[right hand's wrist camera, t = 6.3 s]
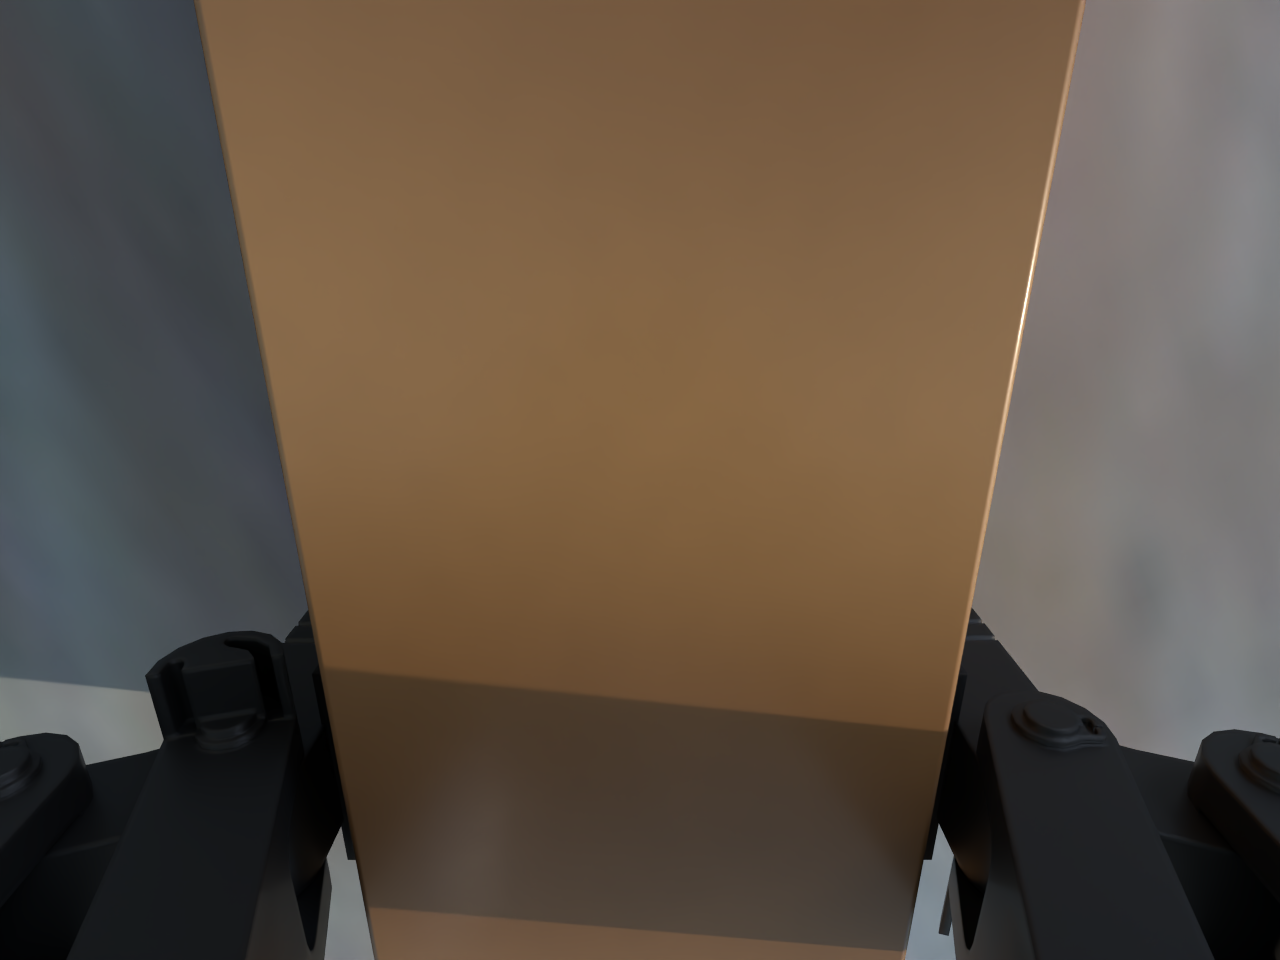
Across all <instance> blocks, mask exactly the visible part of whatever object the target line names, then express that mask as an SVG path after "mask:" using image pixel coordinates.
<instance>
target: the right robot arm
mask: <svg viewBox="0 0 1280 960" xmlns="http://www.w3.org/2000/svg"><path fill="white" fill-rule="evenodd" d="M994 637H995V636H994V635H993V634H992V632H991V631H990V630H989V629H988V627H987V626H986V625H985V624H984V623H981V619H980V617H979V616H978V615H977V614H976V612H975V611H974V610H973V609H972V607H971V611H970V617H969V622H968V627H967V633H966V638H965V643H964V648H963V654H962V659H961V664H960V670H959V675H958V680H957V685H956V691H955V696H954V701H953V707H952V712H951V717H950V723H949V728H948V733H947V738H946V744H945V749H944V754H943V760H942V765H941V770H940V775H939V781H938V786H937V791H936V797H935V802H934V807H933V813H932V818H931V823H930V828H929V834H928V839H927V844H926V850H925V855H924V860H932V855H933V850H934V845H935V840H936V835H937V830H938V824H939V825H940V827H941V829H942V831H943V833H944V835H945V837H946V839H947V841H948V844H949V846H950V848H951V850H952V852H953V854H954V858H953V862H952V867H951V872H950V877H949V882H948V886H947V891H946V896H945V901H944V906H943V911H942V915H941V921H940V927H939V934H943V935H947V936H949V931H950V927H951V922H952V926H953V935H954V945H955V954H956V960H1280V738H1279V739H1278V738H1276V737H1275V736H1271V735H1267V734H1263V733H1256V732H1249V731H1242V730H1235V729H1233V730H1225V731H1216V732H1213V733H1211V734H1210V735H1209V736H1207V737H1206V738H1205V739H1203V740H1202V742H1201V745H1200V748H1199V751H1198V754H1197V757H1196V759H1195V762H1192V761H1187V760H1182V759H1178V758H1173V757H1168V756H1163V755H1159V754H1154V753H1149V752H1144V751H1139V750H1135V749H1131V748H1127V747H1124V746H1120V745H1119V744H1118V741H1117V739H1116V738H1115V736H1114V735H1113V734H1112V732H1111V731H1110V730H1109V728H1108V727H1107V725H1106V724H1105V723H1104V722H1103V721H1101V720H1100V719H1099V718H1097V717H1096V716H1095V715H1093V714H1092V713H1091V712H1089V711H1088V710H1087V709H1085V708H1083V707H1081V706H1079V705H1077V704H1075V703H1073V702H1070V701H1068V700H1066V699H1064V698H1062V697H1058V696H1055V695H1051V694H1047V693H1043V692H1039V691H1038V690H1037V689H1036V687H1035V686H1034V685H1033V684H1032V682H1031V681H1030V680H1029V679H1028V677H1027V676H1026V675H1025V674H1024V672H1023V671H1022V670H1021V669H1020V667H1019V666H1018V665H1017V664H1016V662H1015V661H1014V660H1013V659H1012V657H1011V656H1010V655H1009V654H1008V652H1007V651H1006V650H1005V649H1004V647H1003V646H1002V645H1001V644H1000V642H999V641H998V640H995V638H994ZM145 677H146V680H147V684H148V687H149V690H150V694H151V697H152V701H153V704H154V708H155V711H156V714H157V718H158V721H159V725H160V728H161V731H162V735H163V738H164V740H163V743H162V745H161V747H160V749H157V750H153V751H150V752H146V753H141V754H137V755H132V756H127V757H122V758H118V759H113V760H108V761H103V762H99V763H94V764H89V765H86V764H85V761H84V758H83V756H82V753H81V750H80V747H79V744H78V743H77V742H75V741H74V740H73V739H71V738H70V737H69V736H67V735H61V734H53V733H41V734H34V735H27V736H20V737H16V738H12V739H8V740H5V741H4V742H0V960H324V956H325V947H326V937H327V928H328V919H329V910H330V900H331V891H332V885H331V879H330V872H329V867H328V862H327V858H326V857H327V855H328V853H329V851H330V848H331V846H332V844H333V842H334V840H335V838H336V836H337V834H338V831H339V829H340V827H342V832H343V837H344V842H345V848H346V853H347V858H348V860H356V858H355V853H354V848H353V842H352V837H351V832H350V827H349V821H348V816H347V811H346V805H345V800H344V795H343V789H342V784H341V779H340V774H339V768H338V763H337V758H336V752H335V747H334V742H333V736H332V731H331V726H330V721H329V715H328V710H327V705H326V699H325V694H324V689H323V683H322V678H321V673H320V668H319V662H318V657H317V652H316V646H315V641H314V636H313V630H312V625H311V620H310V615H309V610H308V611H307V612H306V613H305V615H304V616H303V617H302V619H301V620H300V621H299V625H298V626H295V627H294V629H293V630H292V631H291V632H290V634H289V635H288V636H287V637H286V641H285V643H281V642H280V641H279V640H277V639H276V638H275V637H273V636H272V635H271V634H266V633H261V632H256V631H238V632H227V633H222V634H218V635H214V636H209V637H205V638H202V639H199V640H197V641H194V642H192V643H190V644H187V645H185V646H182V647H180V648H178V649H176V650H175V651H173V652H171V653H170V654H168V655H167V656H165V657H164V658H162V659H161V660H159V661H158V662H157V663H156V664H155V665H154V666H153V667H152V669H151V670H150V671H149V672H148V673H147V674H146V675H145Z"/></svg>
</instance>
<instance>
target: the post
mask: <svg viewBox="0 0 1280 960" xmlns="http://www.w3.org/2000/svg"><path fill="white" fill-rule="evenodd" d="M1085 2H1086V0H194V5H195V10H196V16H197V21H198V26H199V31H200V37H201V42H202V47H203V53H204V58H205V63H206V69H207V74H208V79H209V84H210V90H211V95H212V100H213V106H214V111H215V116H216V122H217V127H218V132H219V137H220V143H221V148H222V153H223V159H224V164H225V169H226V175H227V180H228V185H229V190H230V196H231V201H232V206H233V212H234V217H235V222H236V228H237V233H238V238H239V243H240V249H241V254H242V259H243V265H244V270H245V275H246V281H247V286H248V291H249V296H250V302H251V307H252V312H253V318H254V323H255V328H256V334H257V339H258V344H259V349H260V355H261V360H262V365H263V371H264V376H265V381H266V387H267V392H268V397H269V402H270V408H271V413H272V418H273V424H274V429H275V434H276V440H277V445H278V450H279V455H280V461H281V466H282V471H283V477H284V482H285V487H286V493H287V498H288V503H289V508H290V514H291V519H292V524H293V530H294V535H295V540H296V546H297V551H298V556H299V562H300V567H301V572H302V577H303V583H304V588H305V593H306V599H307V604H308V609H309V615H310V620H311V625H312V630H313V636H314V641H315V646H316V652H317V657H318V662H319V668H320V673H321V678H322V683H323V689H324V694H325V699H326V705H327V710H328V715H329V721H330V726H331V731H332V736H333V742H334V747H335V752H336V758H337V763H338V768H339V774H340V779H341V784H342V789H343V795H344V800H345V805H346V811H347V816H348V821H349V827H350V832H351V837H352V842H353V848H354V853H355V858H356V864H357V869H358V874H359V880H360V885H361V890H362V895H363V901H364V906H365V911H366V917H367V922H368V927H369V933H370V938H371V943H372V948H373V954H374V959H375V960H905V955H906V950H907V945H908V940H909V934H910V929H911V924H912V918H913V913H914V908H915V903H916V897H917V892H918V887H919V881H920V876H921V871H922V865H923V860H924V855H925V850H926V844H927V839H928V834H929V828H930V823H931V818H932V813H933V807H934V802H935V797H936V791H937V786H938V781H939V775H940V770H941V765H942V760H943V754H944V749H945V744H946V738H947V733H948V728H949V723H950V717H951V712H952V707H953V701H954V696H955V691H956V685H957V680H958V675H959V670H960V664H961V659H962V654H963V648H964V643H965V638H966V633H967V627H968V622H969V617H970V611H971V606H972V601H973V595H974V590H975V585H976V580H977V574H978V569H979V564H980V558H981V553H982V548H983V542H984V537H985V532H986V527H987V521H988V516H989V511H990V505H991V500H992V495H993V490H994V484H995V479H996V474H997V468H998V463H999V458H1000V452H1001V447H1002V442H1003V437H1004V431H1005V426H1006V421H1007V415H1008V410H1009V405H1010V400H1011V394H1012V389H1013V384H1014V378H1015V373H1016V368H1017V362H1018V357H1019V352H1020V347H1021V341H1022V336H1023V331H1024V325H1025V320H1026V315H1027V310H1028V304H1029V299H1030V294H1031V288H1032V283H1033V278H1034V272H1035V267H1036V262H1037V257H1038V251H1039V246H1040V241H1041V235H1042V230H1043V225H1044V220H1045V214H1046V209H1047V204H1048V198H1049V193H1050V188H1051V182H1052V177H1053V172H1054V167H1055V161H1056V156H1057V151H1058V145H1059V140H1060V135H1061V130H1062V124H1063V119H1064V114H1065V108H1066V103H1067V98H1068V92H1069V87H1070V82H1071V77H1072V71H1073V66H1074V61H1075V55H1076V50H1077V45H1078V40H1079V34H1080V29H1081V24H1082V18H1083V13H1084V8H1085Z"/></svg>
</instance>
